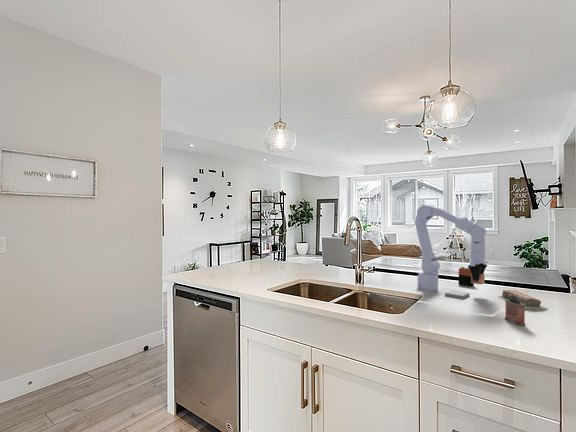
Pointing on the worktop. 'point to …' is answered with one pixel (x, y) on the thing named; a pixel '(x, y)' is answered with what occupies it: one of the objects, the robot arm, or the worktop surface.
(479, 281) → the terracotta cube
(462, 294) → the slate slab
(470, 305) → the worktop surface
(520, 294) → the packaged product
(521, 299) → the red snack pouch
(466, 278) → the battery
